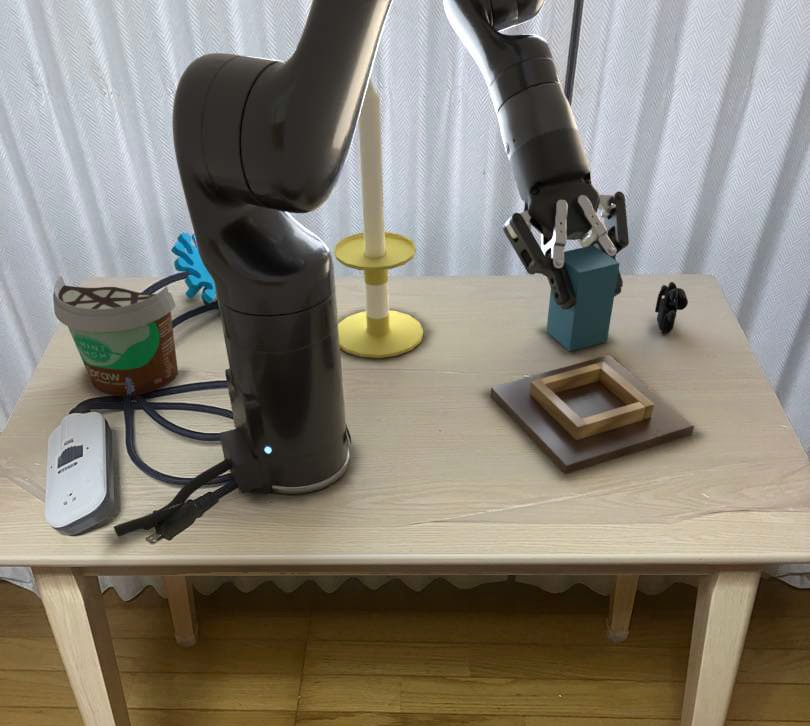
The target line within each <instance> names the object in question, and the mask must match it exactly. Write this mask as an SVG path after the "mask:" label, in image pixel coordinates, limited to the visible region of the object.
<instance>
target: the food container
mask: <svg viewBox="0 0 810 726" xmlns="http://www.w3.org/2000/svg"><path fill="white" fill-rule="evenodd" d="M52 301H53V311H54V315H55V318H56V319H57V320H58V321H59V322H60V323H61V324H63V325H64V326H67V328H68V330H69V332H70V335H71V337H72V340H73V343H74V345H75V347H76V349H77V351H78V354H79V356H80V358H81V361H82V363H83V365H84V368H85V370H86V372H87V375H88V377H89V380H90V381H91V384H92V386H93V387H94V388H95V389H96V390H97V391H99V392H100V393H103V394H106V395H109V396H116V397H132V396H133V397H134V396H140V395H144V394H148V393H152V392H155V391H156V390H159V389H161V388H163V387H165V386H167V385H168V384H170V383H172V382H173V380H175V379H176V378H177V377H178V375H179V370H178V361H177V353H176V344H175V336H174V327H173V319H172V311H173V310H174V309H176V307H177V305H176V302H175V300H174V297H173V295H172V292H170V291H169V288H168V286H165V287H164V288H162V289H161V290H160V291H159V292H157V293H147V292H139V291H135V290H130V289H126V288H121V287H117V286H101V287H99V286H98V287H82V286H72V285H66V283H65V280H64V279H63V276H60V277H59V278H58V279H57V280H56V282H55V283H54V287H53V293H52ZM126 377H130V378H131V379H132V381H133V383H134V385H135V387H134V388H135V391H134V392H132V393H131V395H130V394H127V389H126V388H125V387H126V383H125V378H126Z"/></svg>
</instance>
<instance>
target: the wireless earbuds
mask: <svg viewBox="0 0 810 726" xmlns="http://www.w3.org/2000/svg"><path fill="white" fill-rule="evenodd" d="M688 303H689V300H688V297H687V294H686V291H685V290H684V288H681V287H677V285H676V283H675V282H674V281H670V282H669V283H668V286H667V284H663V285H661V287H660V290H659V292H658V295H657V299H656V303H655V309H654V313H656V314H657V316H656V322H657V325H658V329H659V331H660V334H661V335H662V336H665V335H666V334H669V333H670V332H672V330H673V329H674V325H675V322H676V318H677V312H678V311H683V310H685V309H686V308H687V307H688Z"/></svg>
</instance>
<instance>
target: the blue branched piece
mask: <svg viewBox="0 0 810 726" xmlns="http://www.w3.org/2000/svg"><path fill="white" fill-rule="evenodd" d="M192 242H193V244H194V245H193V244H192ZM170 252H172V254H173V255H175V256H177V258H176V259H175V260H174V262H173V264H174V269H175V270H176V271H177V272H180V273H182V272H184V273H187V274H189V275H187V277H185V279H184V283H185V285H186V286H187V287H188V288H187V289H186V290H185V293H184V294H185V296H186V297H187V298H188V299H191V300H192V299H193V298H194V297H195V296H196V295H197V294H198V293H199V292H200V291H201V290H202V288H203V287H204V288H206V289H205V290H204V291H203V292H202V293H201V295H200V296H201V298H202V299H203V300H204V301H205V302H206V303H207V304H211V303H212V302H213V301H214V300H215V299H216V289H215V285H214V281H213V279H212V277H211V275H210V274H209V272H208V271H207V269H206V268H205V266H204V264H203V262H202V260H201V258H200V255H199V252H198V248H197V245H196V240H195V236H194V233H192V235H190V234H189V233H188V232H181V233H180V234H179V235H178V236H177V241H176V243H175V244H174V245H173V246H172V247H171V250H170Z"/></svg>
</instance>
